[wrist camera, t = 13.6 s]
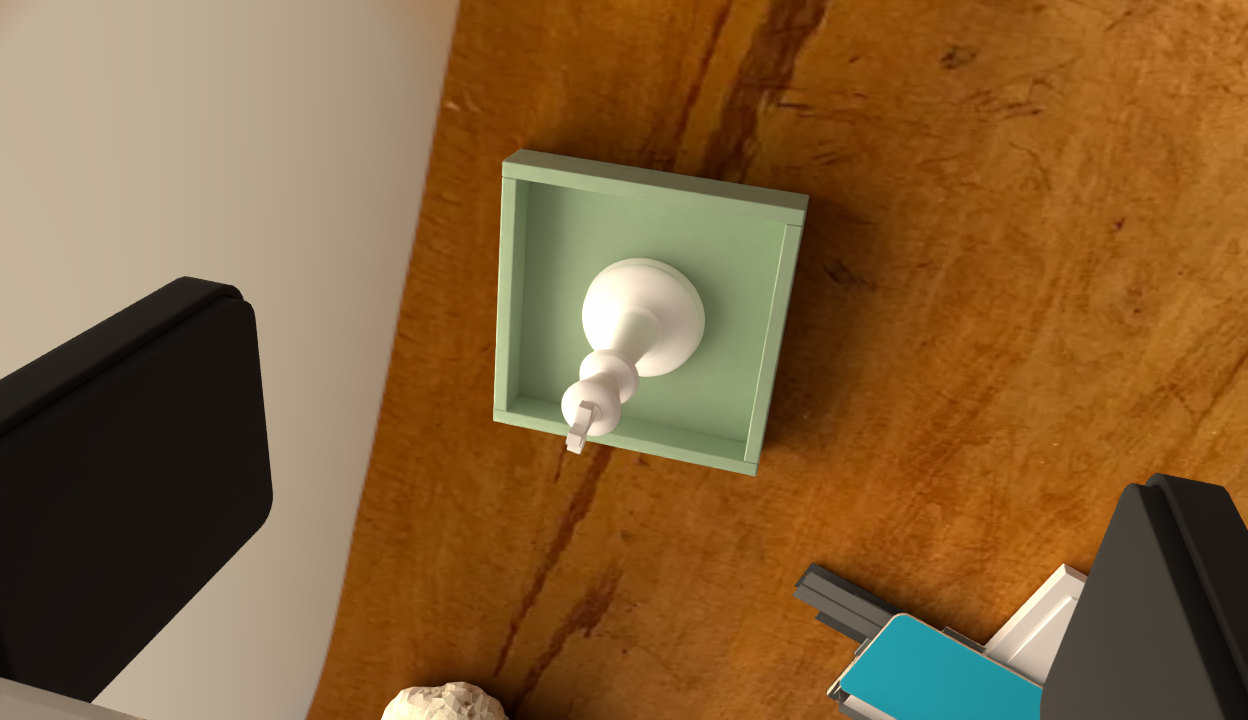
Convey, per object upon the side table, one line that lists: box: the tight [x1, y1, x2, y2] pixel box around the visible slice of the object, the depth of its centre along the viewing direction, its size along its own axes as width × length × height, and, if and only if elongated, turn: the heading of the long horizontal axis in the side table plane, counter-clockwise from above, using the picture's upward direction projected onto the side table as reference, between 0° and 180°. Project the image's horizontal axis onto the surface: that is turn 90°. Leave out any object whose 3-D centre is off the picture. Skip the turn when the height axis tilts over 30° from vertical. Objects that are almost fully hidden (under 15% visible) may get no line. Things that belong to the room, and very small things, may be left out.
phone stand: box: [793, 563, 1088, 720], centre depth 42 cm, size 20×12×2 cm, turn 65°
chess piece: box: [562, 258, 705, 454], centre depth 34 cm, size 5×5×10 cm
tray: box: [493, 149, 809, 476], centre depth 38 cm, size 11×11×2 cm
